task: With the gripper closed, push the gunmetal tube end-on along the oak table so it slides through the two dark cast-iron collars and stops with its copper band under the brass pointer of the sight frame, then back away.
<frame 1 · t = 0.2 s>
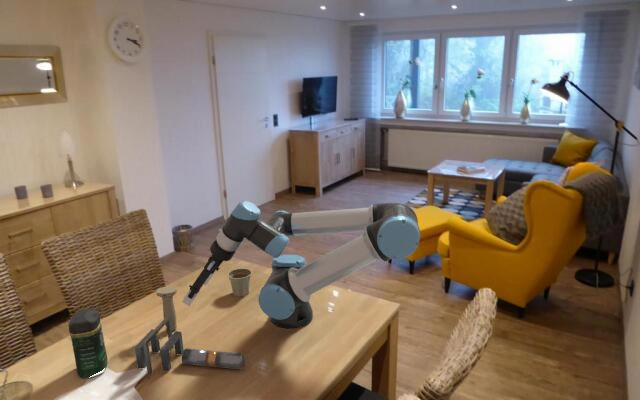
hand: (194, 292, 146), 15 cm above the table, tool tilted 35°, fingers open, 13 cm apart
sight frame: (161, 359, 137), on the table
tube: (213, 364, 134), on the table
collar a: (173, 361, 136), on the table
flower pot: (241, 293, 177), on the table
collar b: (149, 358, 138), on the table
coffee jar: (94, 369, 133), on the table
handle: (171, 330, 153), on the table
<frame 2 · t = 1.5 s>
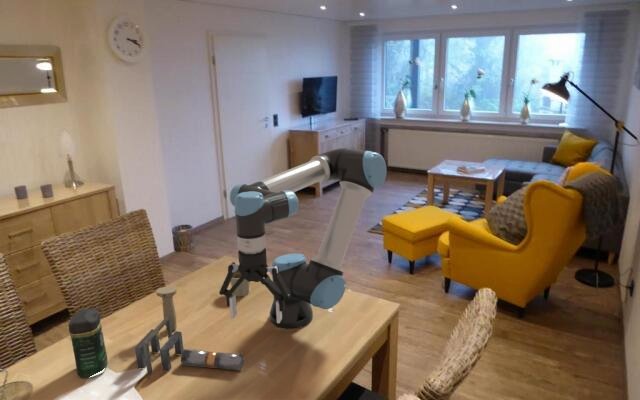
hand: (256, 318, 127), 17 cm above the table, tool pointing down, fingers open, 13 cm apart
tube: (213, 364, 134), on the table, tilted 14°
everything else where it was.
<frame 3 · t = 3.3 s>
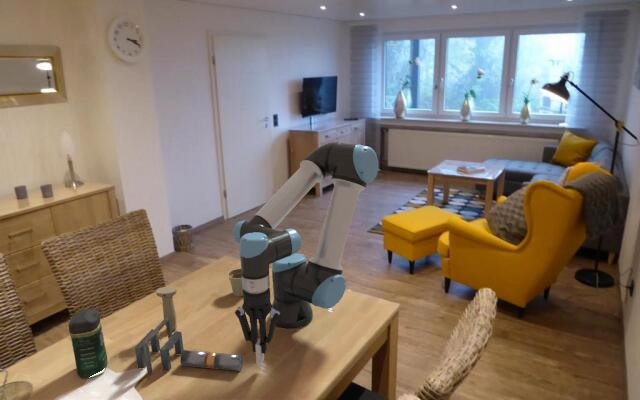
hand: (260, 361, 130), 3 cm above the table, tool pointing down, fingers closed
tube: (213, 364, 134), on the table, tilted 22°
everything else where it was.
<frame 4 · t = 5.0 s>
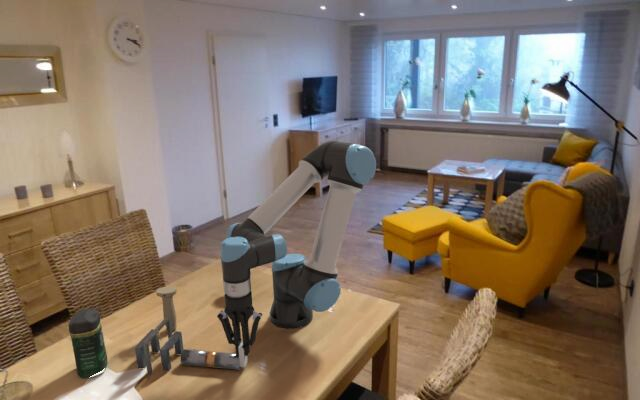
hand: (243, 363, 132), 1 cm above the table, tool pointing down, fingers closed
tube: (213, 364, 134), on the table, tilted 9°, touching gripper
everything else where it was.
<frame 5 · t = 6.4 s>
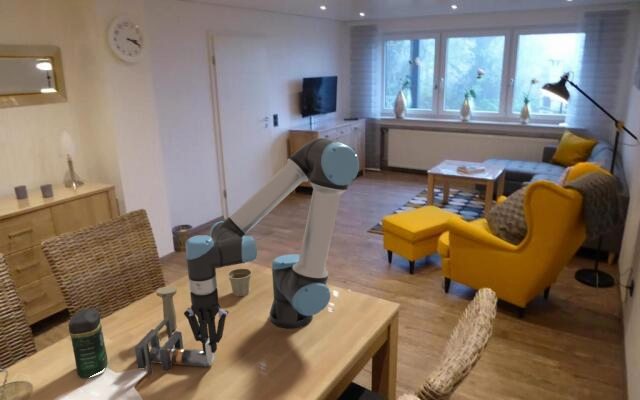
hand: (211, 360, 133), 2 cm above the table, tool pointing down, fingers closed
tube: (181, 361, 136), on the table, tilted 9°, touching gripper
everything else where it was.
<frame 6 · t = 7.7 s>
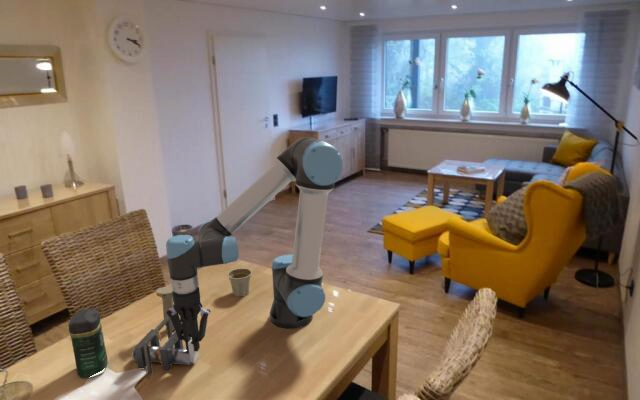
hand: (194, 359, 134), 1 cm above the table, tool pointing down, fingers closed
tube: (165, 360, 137), on the table, tilted 9°, touching gripper
everything else where it was.
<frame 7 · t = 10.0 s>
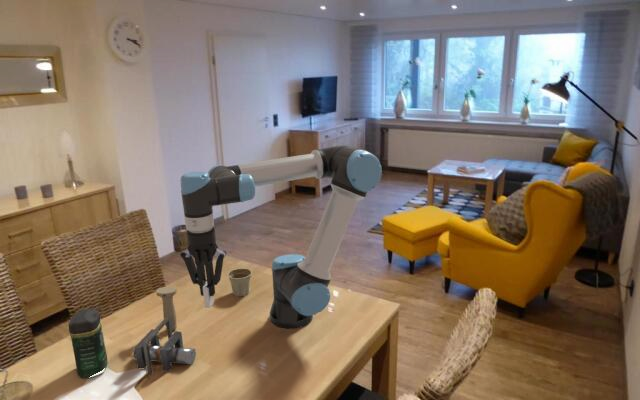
hand: (209, 305, 129), 20 cm above the table, tool pointing down, fingers closed
tube: (165, 360, 137), on the table
everything else where it was.
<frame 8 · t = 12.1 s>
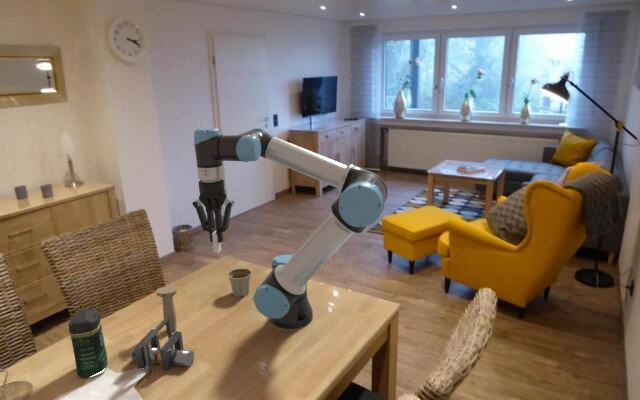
hand: (217, 251, 142), 29 cm above the table, tool pointing down, fingers closed
tube: (165, 359, 137), on the table, tilted 24°
everything else where it was.
at the end: tube 1.3 cm from the target spot, on the table; tube moved 15.7 cm from its start; tube touching table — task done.
